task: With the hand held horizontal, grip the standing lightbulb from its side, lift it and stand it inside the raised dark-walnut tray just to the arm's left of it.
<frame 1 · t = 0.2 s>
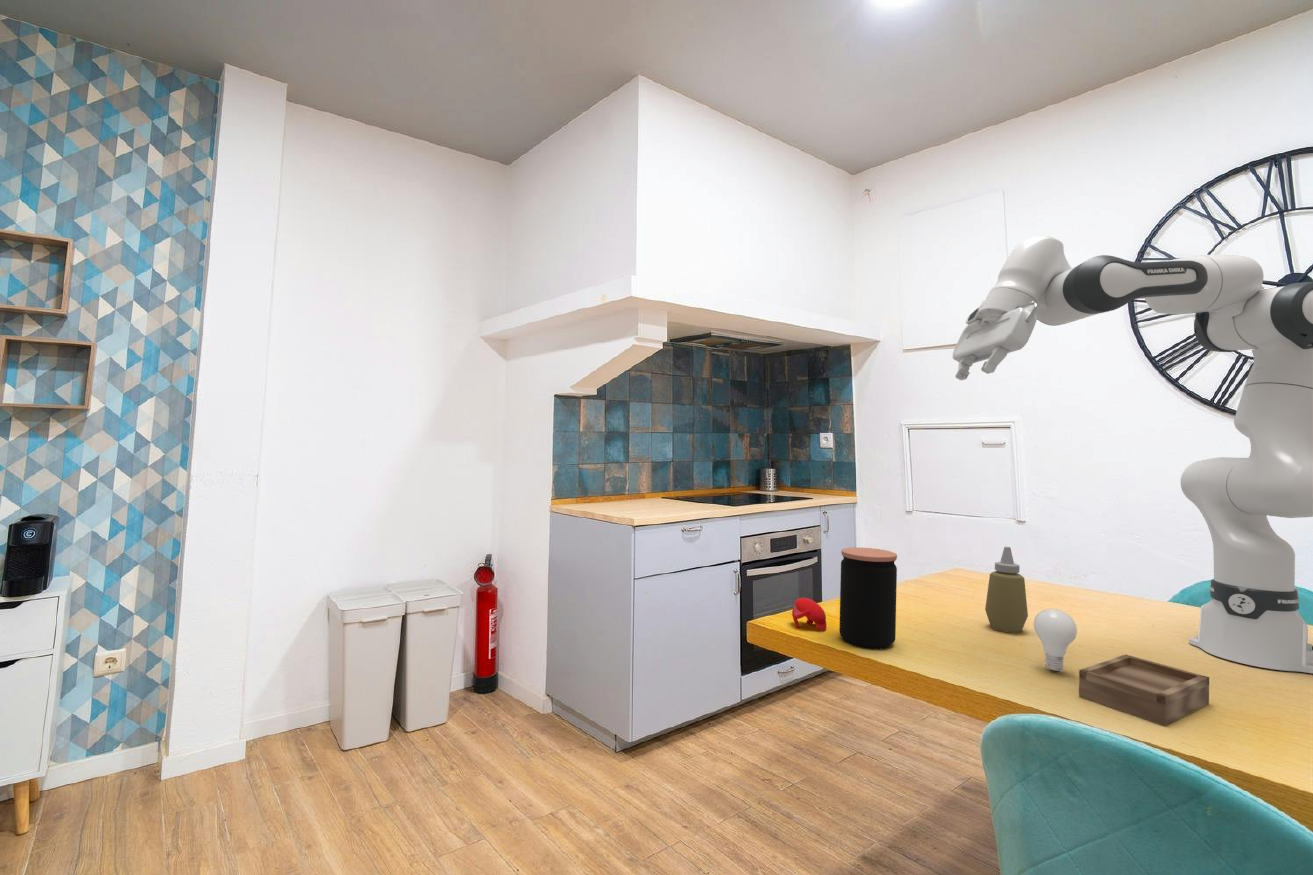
hand: (972, 375, 113), 54 cm above the table, tool tilted 25°, fingers open, 8 cm apart
red animal figurine: (809, 628, 126), on the table
lightbulb: (1054, 672, 104), on the table
coffee jar: (866, 642, 117), on the table
walnut tray: (1143, 699, 93), on the table
squeeze bottle: (1005, 630, 128), on the table
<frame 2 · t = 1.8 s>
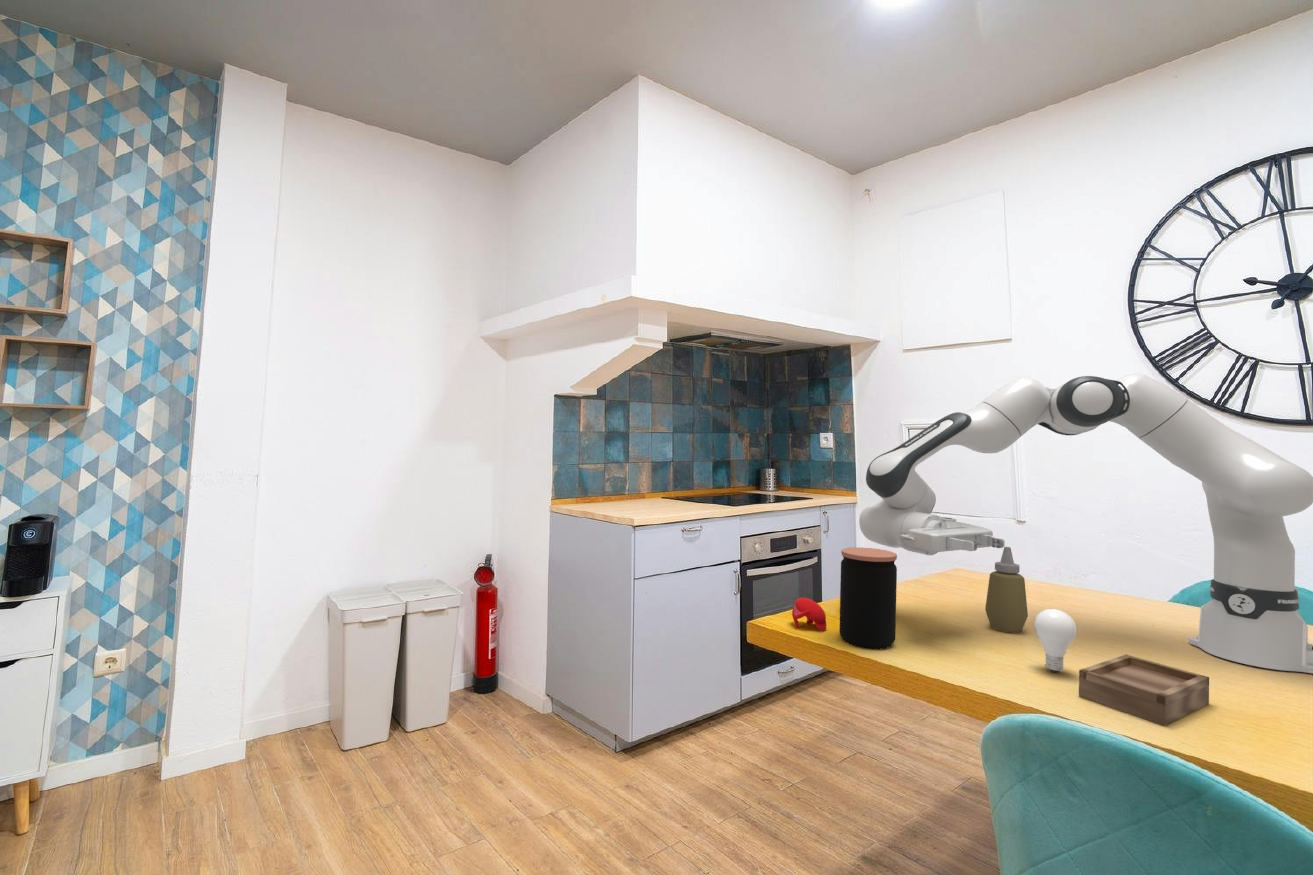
hand: (989, 545, 114), 20 cm above the table, tool horizontal, fingers open, 8 cm apart
nothing on the table moved.
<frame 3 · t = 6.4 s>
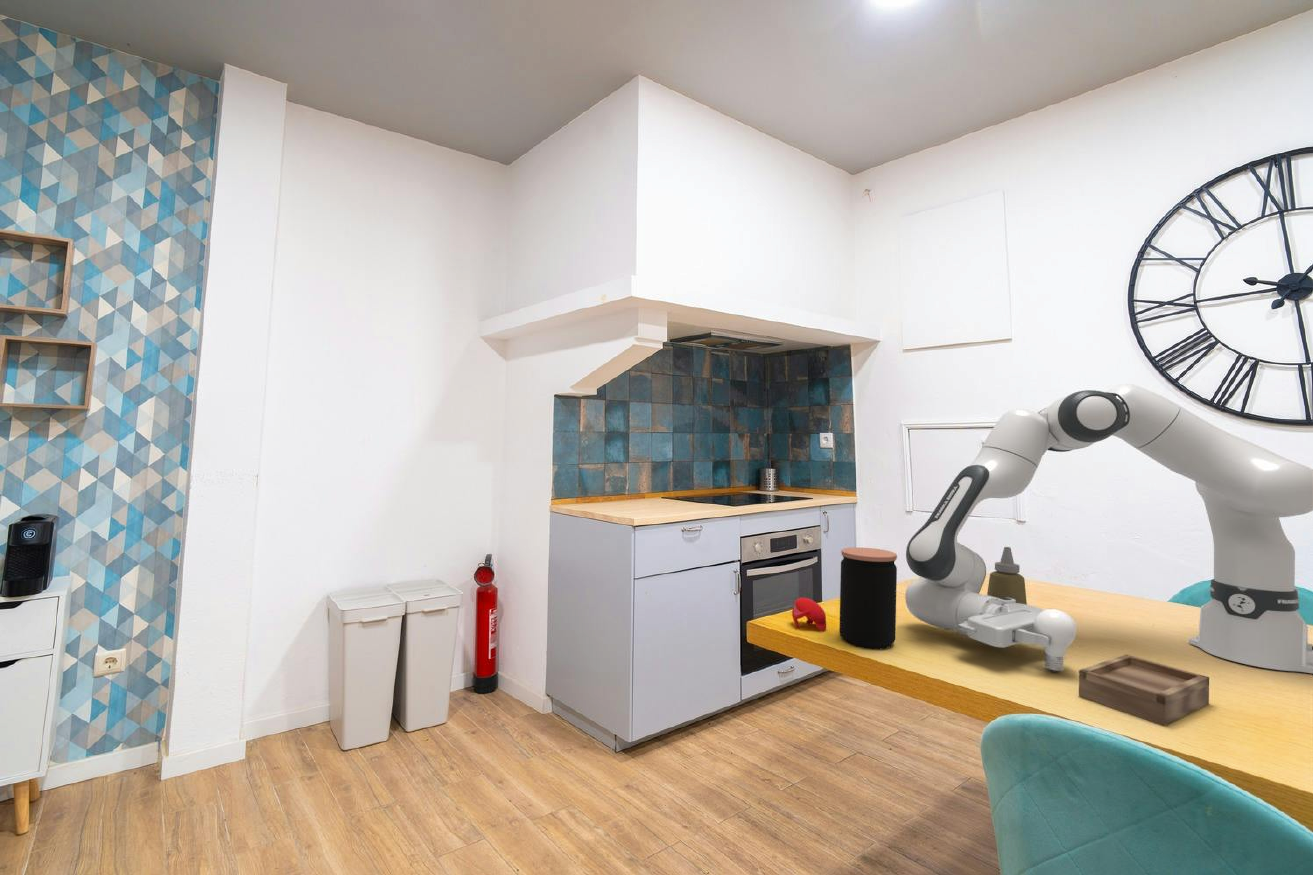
hand: (1060, 638, 103), 6 cm above the table, tool horizontal, fingers closed on lightbulb, 6 cm apart
lightbulb: (1054, 672, 104), on the table, touching gripper
everything else where it was.
when the fingers open (10 cm above the table, at t = 10.6 s): lightbulb drops 1 cm, resting on walnut tray.
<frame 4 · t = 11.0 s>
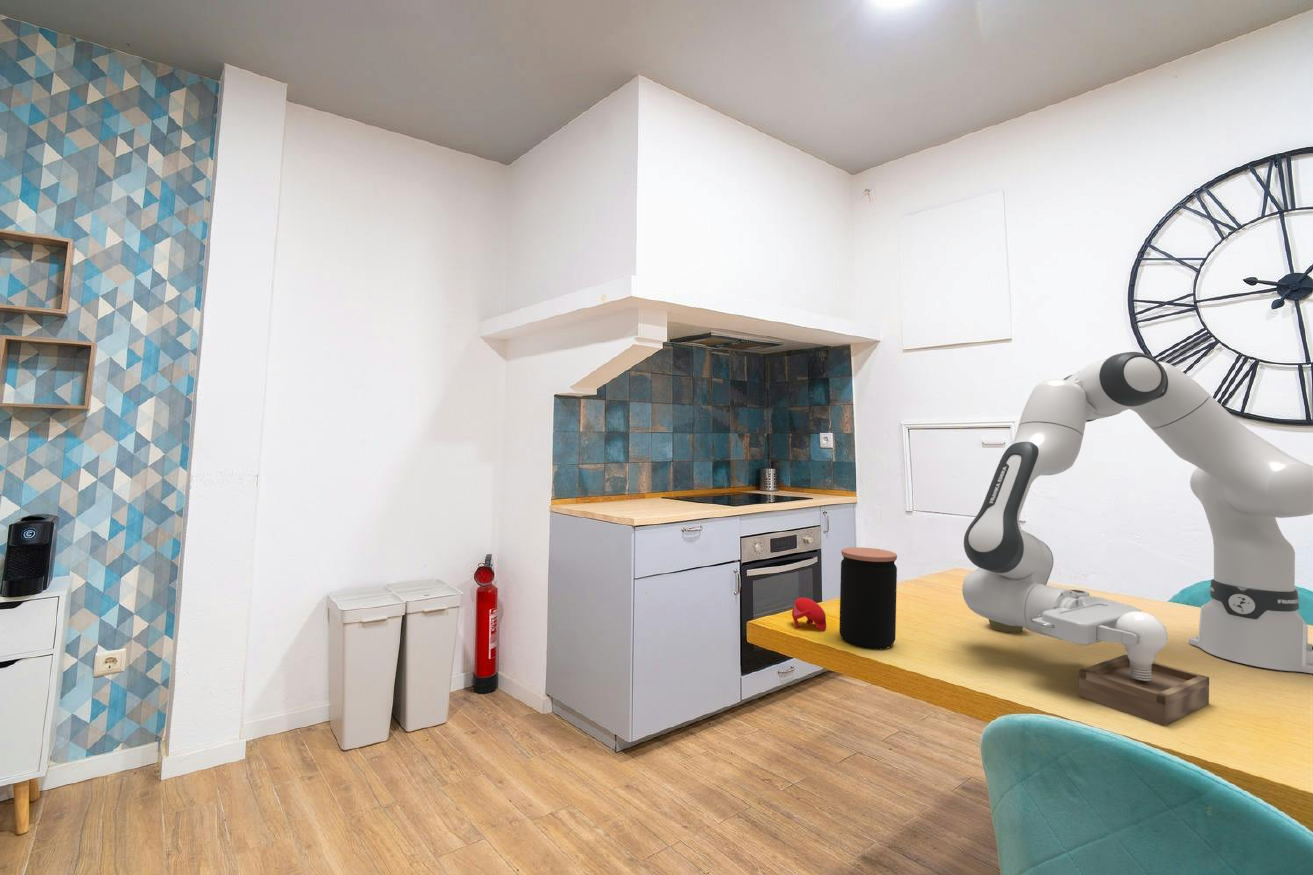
hand: (1151, 635, 92), 10 cm above the table, tool horizontal, fingers open, 8 cm apart
lightbulb: (1140, 682, 92), point 3 cm above the table, touching walnut tray
everything else where it was.
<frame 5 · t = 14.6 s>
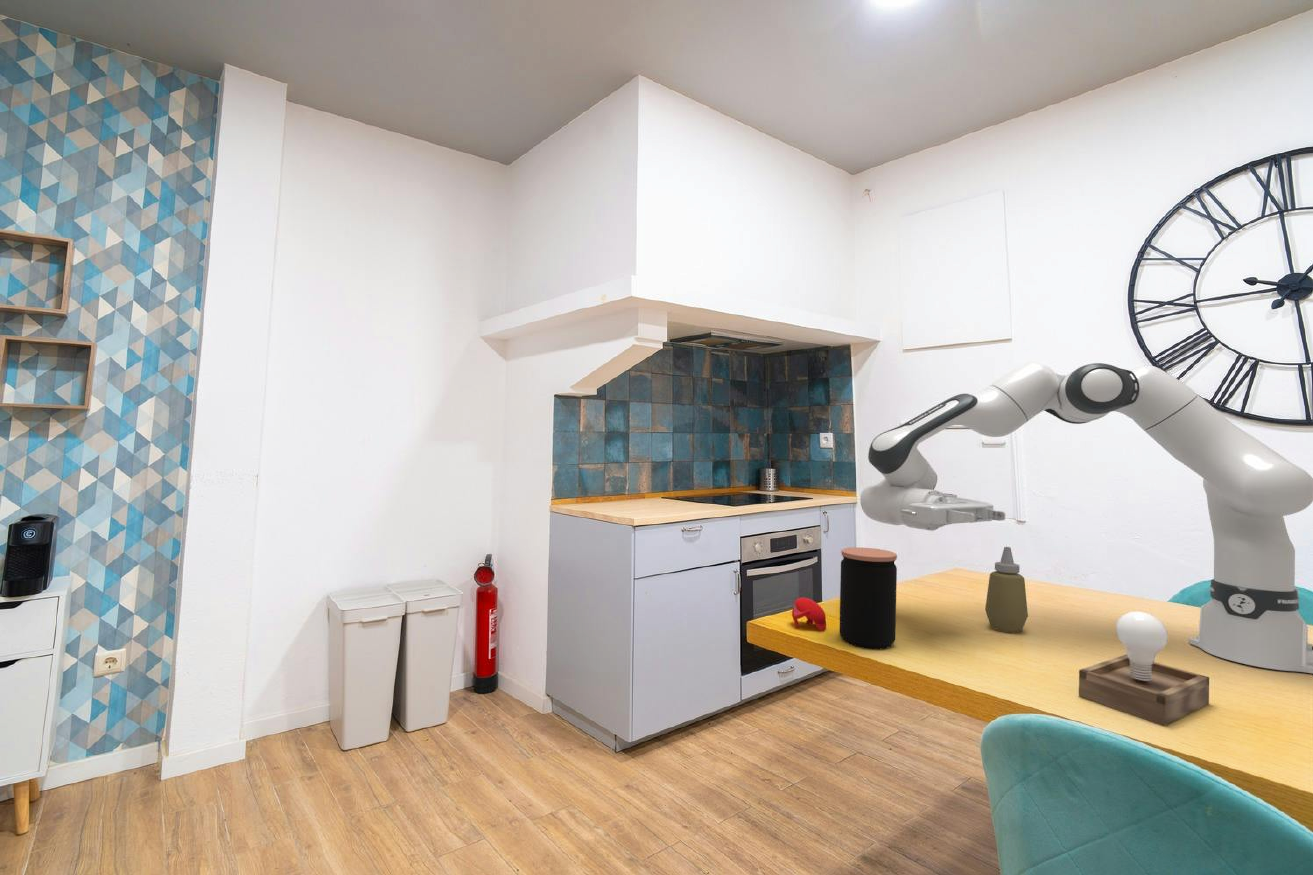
hand: (989, 517, 115), 26 cm above the table, tool horizontal, fingers open, 8 cm apart
nothing on the table moved.
at the end: lightbulb inside the target area on the walnut tray (0.8 cm from its centre), point 2.8 cm above the walnut tray's base; lightbulb tilted 0°; the gripper is holding nothing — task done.
